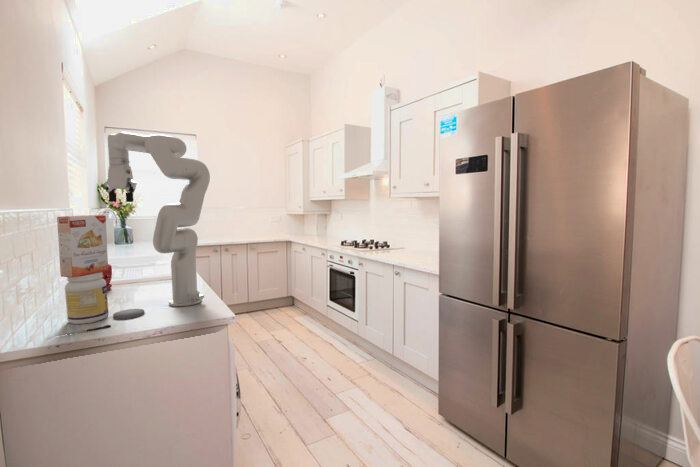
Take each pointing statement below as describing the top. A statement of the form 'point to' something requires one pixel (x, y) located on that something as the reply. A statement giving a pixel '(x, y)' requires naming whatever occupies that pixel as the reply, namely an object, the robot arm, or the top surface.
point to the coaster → (128, 314)
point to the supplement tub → (86, 298)
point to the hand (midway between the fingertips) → (121, 201)
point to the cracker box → (82, 245)
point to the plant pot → (108, 276)
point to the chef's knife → (90, 329)
